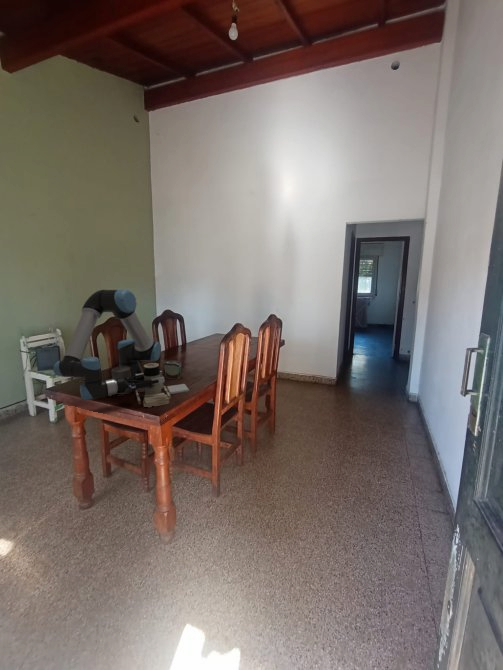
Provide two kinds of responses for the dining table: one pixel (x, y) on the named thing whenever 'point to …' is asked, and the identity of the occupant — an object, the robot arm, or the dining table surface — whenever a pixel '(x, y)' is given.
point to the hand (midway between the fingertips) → (161, 377)
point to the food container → (172, 369)
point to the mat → (177, 388)
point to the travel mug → (152, 373)
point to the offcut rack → (154, 396)
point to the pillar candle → (122, 375)
